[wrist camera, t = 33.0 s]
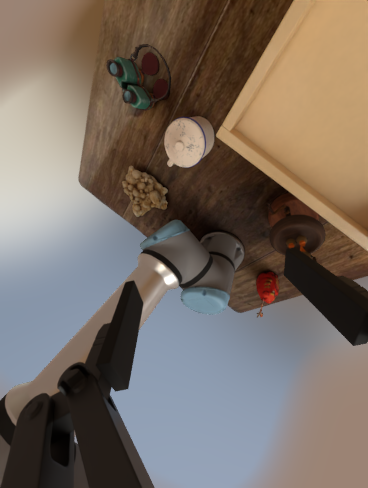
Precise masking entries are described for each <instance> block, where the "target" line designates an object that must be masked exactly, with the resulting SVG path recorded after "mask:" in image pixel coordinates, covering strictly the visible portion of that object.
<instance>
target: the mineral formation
mask: <svg viewBox="0 0 368 488" xmlns="http://www.w3.org/2000/svg"><path fill="white" fill-rule="evenodd" d="M122 185H123V188H124V192H125V193H126V194H128V195H130V200H131V201H132V202H133V207H132V209H133V212H134V214H135V215H136V216H138V217H139V216H140V215H141V216H143V215H144V214H145V213H146V212H147V211H149V210H151V208H153V207H156V208H160V209H163V210H165V209H166V208H167V204H168V202H167V201H166V200H165V199H166V197H165V196H164V195H165V194H166V193H167V192H168V190H167V189H166V188H165V187H162V185H161V184H159V183H158V182H157V180H156V179H155V178H154V177H152V176H151V175H148V174H146V173H142V172H140V171H138V170H135V169H134V167H133V166H129V171H128V174H127V175H126V181H123V182H122Z"/></svg>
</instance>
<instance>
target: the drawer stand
mask: <svg viewBox="0 0 368 488" xmlns="http://www.w3.org/2000/svg"><path fill="white" fill-rule="evenodd" d="M216 136H217V137H218V138H219V139H221V140H222V141H223V142H224V143H226V144H227V145H228V146H230V147H231V148H232V149H234V150H235V151H236V152H238V153H239V154H240V155H242V156H243V157H244V158H246V159H247V160H248V161H249V162H251V163H252V164H253V165H255V166H256V167H257V168H259V169H260V170H261V171H263V172H264V173H265V174H267V175H268V176H269V177H271V178H272V179H273V180H274V181H276V182H277V183H278V184H280V185H281V186H282V187H284V188H285V189H286V190H288V191H289V192H290V193H292V194H293V195H294V196H296V197H297V198H298V199H299V200H301V201H302V202H303V203H305V204H306V205H307V206H309V207H310V208H311V209H313V210H314V211H315V212H317V213H318V214H319V215H321V216H322V217H323V218H324V219H326V220H327V221H328V222H330V223H331V224H332V225H334V226H335V227H336V228H338V229H339V230H340V231H342V232H343V233H344V234H346V235H347V236H348V237H349V238H351V239H352V240H353V241H355V242H356V243H357V244H359V245H360V246H361V247H363V248H364V249H365V250H367V251H368V0H294V1H293V2H292V4H291V6H290V7H289V9H288V11H287V13H286V14H285V16H284V18H283V20H282V21H281V23H280V25H279V27H278V28H277V30H276V32H275V34H274V35H273V37H272V39H271V40H270V42H269V44H268V46H267V47H266V49H265V51H264V53H263V54H262V56H261V58H260V60H259V61H258V63H257V65H256V67H255V68H254V70H253V72H252V73H251V75H250V77H249V79H248V80H247V82H246V84H245V86H244V87H243V89H242V91H241V93H240V94H239V96H238V98H237V100H236V101H235V103H234V105H233V107H232V108H231V110H230V112H229V113H228V115H227V117H226V119H225V120H224V122H223V124H222V126H221V127H220V129H219V131H218V133H217V134H216Z"/></svg>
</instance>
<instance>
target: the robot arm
mask: <svg viewBox="0 0 368 488" xmlns="http://www.w3.org/2000/svg"><path fill="white" fill-rule="evenodd" d="M140 247H141V249H142V250H143V252H142V253H141V254H140V255H139V256H138V267H137V268H136V269H135V270H134V271H133V272H132V274H131V275H130V276H129V277H128V278H127V279H126V280H125V281H124V282H123V283H122V284H121V286H120V287H119V288H118V289H117V290H116V291H115V292H114V293H113V294H112V295H111V296H110V297H109V299H108V300H107V301H106V302H105V303H104V304H103V305H102V306H101V307H100V308H99V309H98V311H97V312H96V313H95V314H94V315H93V316H92V317H91V318H90V319H89V321H88V322H87V323H86V324H85V325H84V326H83V327H82V328H81V329H80V330H79V332H77V333H76V335H75V336H74V337H73V338H72V339H71V340H70V341H69V342H68V343H67V344H66V346H65V347H64V348H63V349H62V350H61V351H60V352H59V353H58V354H57V355H56V356H55V358H54V359H53V360H52V361H51V362H50V363H49V364H48V365H47V366H46V367H45V368H44V370H43V371H42V372H41V373H40V374H39V375H38V376H37V377H36V378H35V379H34V380H33V381H31V382H27V383H24V384H20V385H17V386H15V387H14V388H12V389H11V390H10V391H9V392H8V393H7V394H6V395H5V396H4V397H3V398H2V399H1V400H0V488H154V486H153V484H152V481H151V479H150V477H149V475H148V473H147V471H146V469H145V467H144V465H143V463H142V460H141V458H140V456H139V454H138V452H137V450H136V448H135V446H134V444H133V441H132V439H131V438H130V435H129V433H128V431H127V429H126V427H125V425H124V423H123V421H122V418H121V416H120V414H119V412H118V410H117V408H116V406H115V404H114V402H113V400H112V397H111V396H110V391H111V387H112V388H113V389H114V390H115V391H120V390H125V389H128V386H129V381H130V376H131V370H132V365H133V359H134V354H135V348H136V342H137V337H138V332H139V329H140V328H141V326H142V325H143V324H144V322H145V321H146V320H147V318H148V317H149V315H150V314H151V313H152V311H153V310H154V308H155V307H156V305H157V304H158V303H159V302H160V300H161V299H162V297H163V296H164V294H165V293H166V292H167V290H170V289H176V288H178V287H179V286H180V287H181V288H182V289H183V291H182V292H181V300H182V302H183V304H184V305H185V306H187V307H188V308H190V309H191V310H193V311H196V312H199V313H202V314H209V315H211V314H212V315H213V314H219V313H221V312H223V311H224V310H225V309H226V307H227V304H228V300H229V299H230V293H231V288H232V283H233V277H234V272H235V270H236V269H237V267H238V266H239V265H240V264H241V262H242V260H243V258H244V253H245V249H244V245H243V243H242V242H241V240H240V239H239V238H238V237H236V236H235V235H233V234H232V233H229V232H226V231H220V230H217V231H211V232H209V233H207V234H205V235H204V236H203V237H202V239H201V241H200V242H199V241H198V240H197V238H196V237H195V236H194V235H193V234H192V233H191V231H190V229H188V228H187V227H186V226H185V225H184V224H183V223H182V222H181V221H180V220H173V221H171V222H169V223H168V224H166V225H165V226H163V227H162V228H160V229H159V230H158V231H156V232H155V233H153V234H152V235H151V236H149V237H148V238H147V239H145V240H144V241H143V242H142V243H141V244H140ZM284 276H285V277H286V278H287V279H288V280H289V281H290V282H291V283H292V284H293V285H294V286H295V287H296V288H297V289H298V290H299V291H300V292H301V293H302V294H303V295H304V296H305V297H306V298H307V299H308V300H309V301H310V302H311V303H312V304H313V305H314V306H315V307H316V308H317V309H318V310H319V311H320V312H321V313H322V314H323V315H324V316H325V317H326V318H327V319H328V321H329V322H331V324H332V325H333V326H335V328H336V329H337V330H338V331H339V332H340V333H341V334H342V335H343V336H344V337H345V338H346V339H347V340H348V341H349V342H350V343H351V344H352V345H353V346H355V345H361V344H366V343H367V342H368V291H367V290H366V289H365V288H363V287H361V286H360V285H358V284H357V283H356V282H354V281H353V280H351V279H348V278H346V277H343V276H339V277H337V276H335V275H334V274H333V273H331V272H330V271H328V270H327V269H326V268H324V267H323V266H321V265H320V264H318V263H317V262H316V261H314V260H313V259H311V258H310V257H309V256H307V255H306V254H304V253H303V252H302V251H300V250H299V249H297V248H296V247H293V248H288V249H286V257H285V269H284ZM75 435H76V438H77V442H78V444H77V443H75V442H74V437H75Z"/></svg>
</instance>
